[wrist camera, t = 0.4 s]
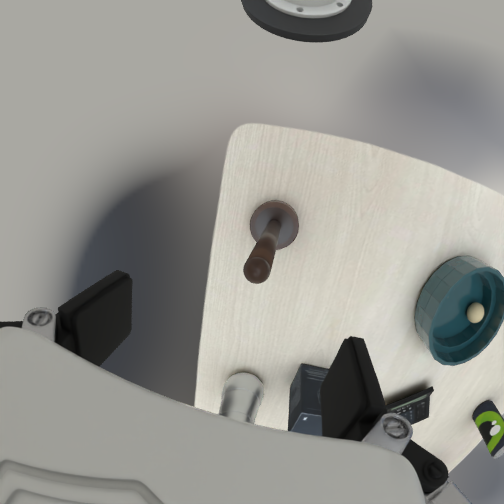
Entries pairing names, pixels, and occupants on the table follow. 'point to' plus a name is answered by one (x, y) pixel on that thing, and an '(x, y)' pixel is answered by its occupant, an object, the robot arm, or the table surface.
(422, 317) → the bowl
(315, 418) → the box
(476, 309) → the ball
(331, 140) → the table surface
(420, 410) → the calculator
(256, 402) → the plastic bottle
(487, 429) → the beverage can
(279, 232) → the brown plunger
